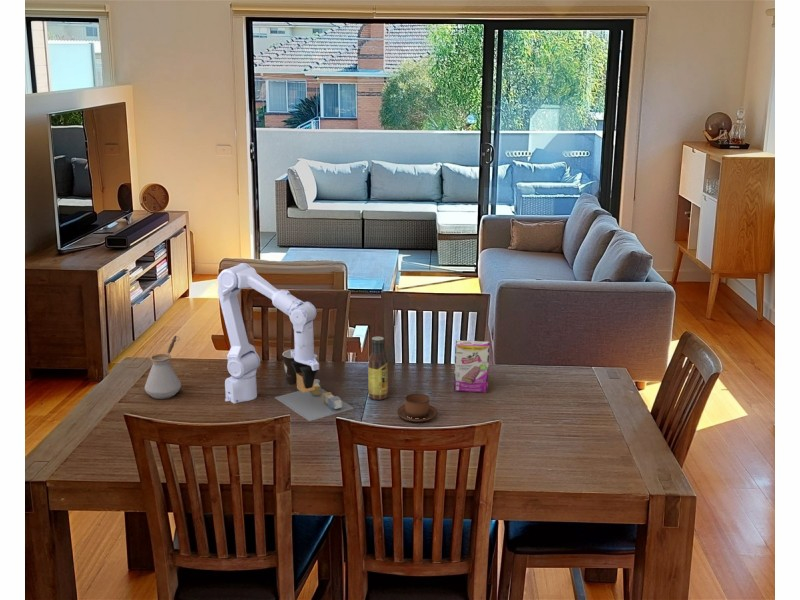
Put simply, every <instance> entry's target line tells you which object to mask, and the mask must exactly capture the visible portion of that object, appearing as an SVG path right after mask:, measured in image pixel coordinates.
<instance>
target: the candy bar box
mask: <svg viewBox="0 0 800 600" xmlns="http://www.w3.org/2000/svg"><path fill="white" fill-rule="evenodd" d="M490 348H491V347H490V341H482V340H481V341H480V340H458V339H457V340H456V339H455V347H454V371H453V372H454V374H453V391H454V392H461V393H462V392H465V393H481V394H482V393H483V394H484V393H485V394H487V393H488V391H489V388H488V387H489V370H490V369H489V368H490V364H489V363H490Z"/></svg>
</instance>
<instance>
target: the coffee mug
mask: <svg viewBox="0 0 800 600" xmlns="http://www.w3.org/2000/svg"><path fill="white" fill-rule="evenodd" d="M292 350H295V348H293V349H287V350H285V351H283V353H282V361H283V366H284V367H283V368H284V372H285V379H286V383H287V384H288V385H297V377H296V373H295V370H294V368H293V366H292V365H291V361H294V357H291V351H292Z"/></svg>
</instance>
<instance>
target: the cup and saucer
mask: <svg viewBox="0 0 800 600" xmlns="http://www.w3.org/2000/svg"><path fill="white" fill-rule="evenodd" d="M396 411H397V412H396V413H397V414H398V416H399V417H400V418H401V419H403V420H405V421H409V422H416V423H417V422H427V421H429V420H431V419H433V418H435V417H436V416H437V408H436V407H434V406H432V404H431V405H430V396H428V395H426V394H424V393H410V394H407V395H406V396H405V397H404V405H401V406H399V407H398V408H397V410H396ZM407 416H408V417H410V418H411V417H412V419H409V418H407ZM415 418H419V419H415ZM423 418H425V419H423Z"/></svg>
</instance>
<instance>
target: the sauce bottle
mask: <svg viewBox="0 0 800 600" xmlns="http://www.w3.org/2000/svg"><path fill="white" fill-rule="evenodd" d="M388 363H389V361H388V358H387V356H386V353H385V338H384V337H382V336H379V335H378V336H373V337H371V353H370V354H369V356H368V366H367V369H368V371H367V373H368V374H367V375H368V377H367V378H368V381H367V382H368V385H367V387H368V397H369V398H370V399H371V400H374V401H375V400H377V401H380V400H384V399H386V398H387V397H388V392H389V385H388V384H389V381H388V379H389V376H388V375H389V370H388V369H389V366H388V365H389V364H388Z"/></svg>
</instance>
